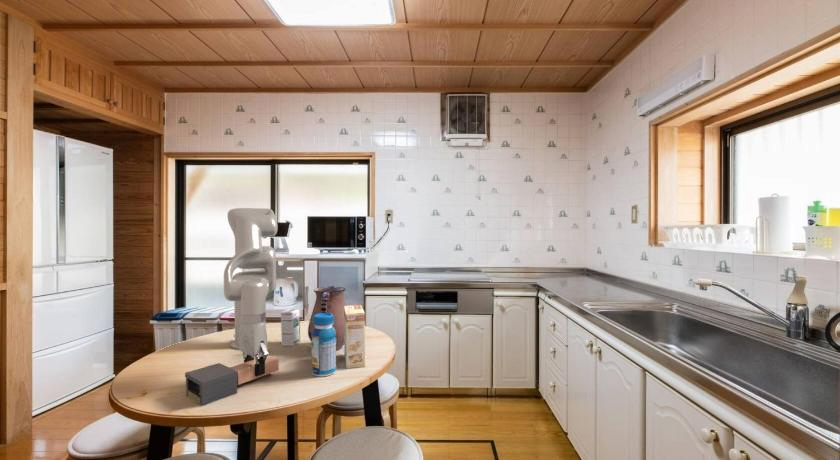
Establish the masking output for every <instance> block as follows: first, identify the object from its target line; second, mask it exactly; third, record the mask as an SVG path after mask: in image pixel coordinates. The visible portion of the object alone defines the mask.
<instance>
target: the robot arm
mask: <svg viewBox="0 0 840 460" xmlns="http://www.w3.org/2000/svg"><path fill="white" fill-rule="evenodd" d="M226 216H227V222H228V225H229V227H230V229H231V231H232V233H233V236H234V253H235V254H234V255H233V256H232V257H231V258H230V259H229V260H228V262H227V264H226V266H225V268H224V271H223V295H224V298H225V300H226V301H230V302H234V305H233V306H234V335H233V337H234V341H233V342H232V343H231V344H230V347H231V348H232V349H235V350H239V351H240V352H241V353H242V354H243V355H242V358H243V363H245V362H248V361H252V360H255V361H256V364H255V376H260V375H262V374H265V362H266V358H267V356H268V355H269V352H268V334H267V326H266V322H267V312H266V311H267V307H266V305H267V303H266V297H267V296H268V294H269V292H272V291H275V289H276V285H277V257H276V251H275V249H274V247H272V246H269V245H264V246H263V244H262V242H263V241H262V237H275V236H276V235H277V233H278V220H277V217H276V215H275V212H274V211H273V210H272V209H271V208H264V207H263V208H262V207H261V208H260V207H259V208H257V207H256V208H255V207H254V208H253V207H238V208H232V209H229V210H228V212H227V215H226ZM237 268H238V269H240V270H246V271H240V272H236V273H234V272H235V270H237ZM250 269H251V270H250ZM253 269H264V270H253ZM248 270H249V271H248ZM233 273H234V275H233ZM259 352H260V353H259Z"/></svg>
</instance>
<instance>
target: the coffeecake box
mask: <svg viewBox="0 0 840 460" xmlns="http://www.w3.org/2000/svg"><path fill="white" fill-rule="evenodd" d="M365 317H366V313H365V310H364V309H363V306H362V305H361V304H351V305H346V306H344V345H343V346H344V347H343V348H344V351H343V352H344V362H345V368H346V369H355V368H366V327H365V326H366V320H365V319H366V318H365Z"/></svg>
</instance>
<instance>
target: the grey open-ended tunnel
mask: <svg viewBox="0 0 840 460" xmlns="http://www.w3.org/2000/svg"><path fill="white" fill-rule="evenodd" d="M229 367H230V366H226V365H225V364H223V363H220V362H219V363H214V364H212V365H208V366H207V365H206V366H204V367H200V368H196V369H194V370H191V371H187V372H186V371H185V372H184V377H185V393H186V395H185V396H186V397H187V398H189V399H191V400H192V401H194V402H195V403H196V404H197V405H200V406H201V407H203V406H206V405H208V404H211V403H215V402H217V401H220V400H222V399H225V398H227V397H230V396H233V395H236V394H238V384H237V375H238V371H236V370H234V369H231V368H229Z"/></svg>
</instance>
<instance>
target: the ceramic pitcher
mask: <svg viewBox="0 0 840 460" xmlns="http://www.w3.org/2000/svg"><path fill="white" fill-rule="evenodd" d="M313 292H314V293H315V296H316V297H315V302H314V305H313V309H312V312H311V315H310V319H309V323H308V327H307V335H308V339H309V341H310V342H311V341H312V339H313V338H312V336H311V335H312V332H313V330H314V328H315V326H314V322H313V317H314V315H316V314H320V313H331V314H333V316H334V323H333V324H332V326H333V328H334V329H335V332H336V335H335V338H336V351H337V350H340V349H341V348H342V347H343V346H344V306H347V304H346V302H345V298H344V293H345V292H346V288H345V287H343V286H341V287H340V286H338V287H335V285H331V286H330V285H329V286H328V287H325V286H324V287H323V286H322V287H315V288H314V289H313Z"/></svg>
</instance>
